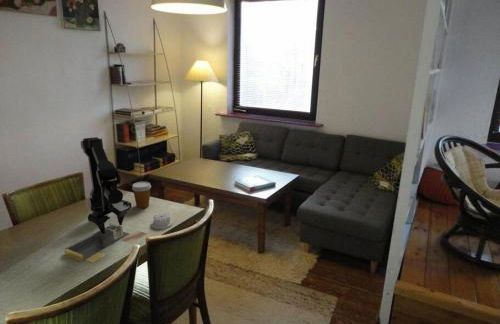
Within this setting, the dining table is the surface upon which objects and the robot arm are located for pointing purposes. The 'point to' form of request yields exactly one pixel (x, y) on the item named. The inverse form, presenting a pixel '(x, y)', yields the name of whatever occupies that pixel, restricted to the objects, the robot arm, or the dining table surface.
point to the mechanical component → (161, 221)
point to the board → (133, 237)
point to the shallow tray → (89, 246)
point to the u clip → (113, 232)
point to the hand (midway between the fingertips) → (112, 229)
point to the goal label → (95, 257)
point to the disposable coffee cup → (141, 194)
